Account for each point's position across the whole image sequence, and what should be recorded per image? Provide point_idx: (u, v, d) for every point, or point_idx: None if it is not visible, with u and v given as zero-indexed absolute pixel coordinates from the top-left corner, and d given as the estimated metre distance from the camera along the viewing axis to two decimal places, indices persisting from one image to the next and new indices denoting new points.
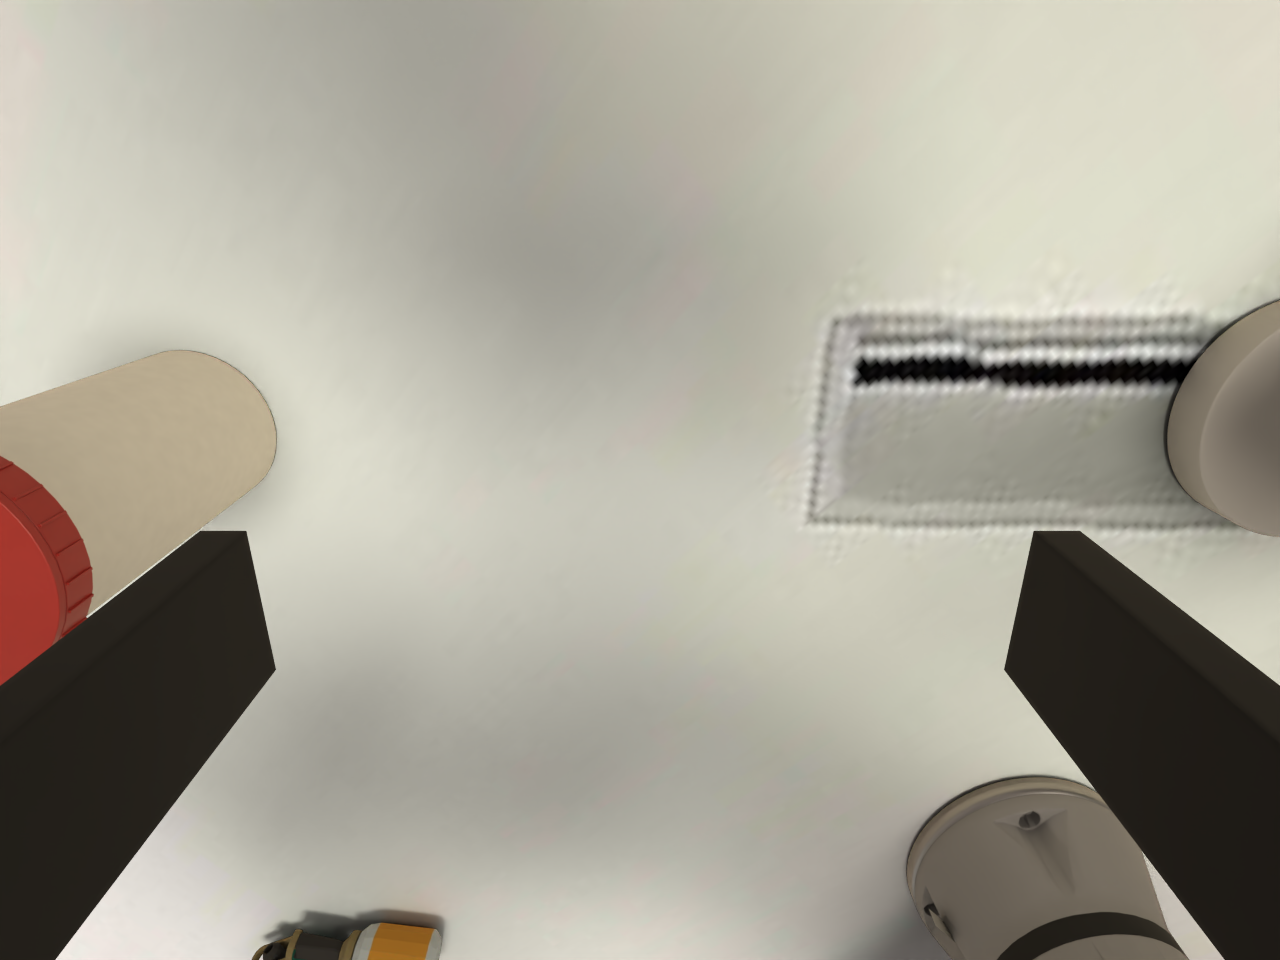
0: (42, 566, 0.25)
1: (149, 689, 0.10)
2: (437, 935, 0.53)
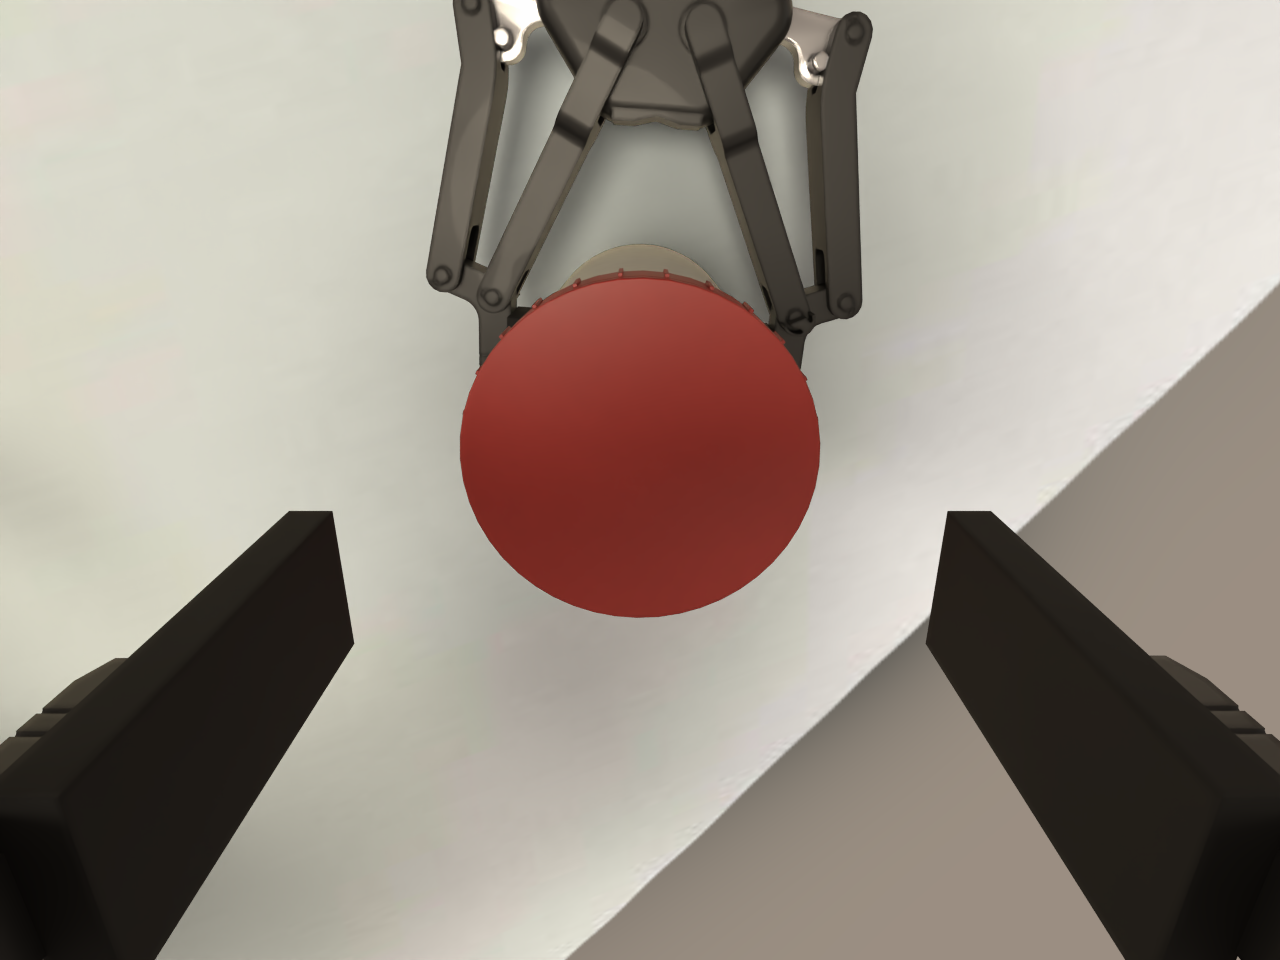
0: (486, 376, 0.18)
1: (261, 653, 0.10)
2: None
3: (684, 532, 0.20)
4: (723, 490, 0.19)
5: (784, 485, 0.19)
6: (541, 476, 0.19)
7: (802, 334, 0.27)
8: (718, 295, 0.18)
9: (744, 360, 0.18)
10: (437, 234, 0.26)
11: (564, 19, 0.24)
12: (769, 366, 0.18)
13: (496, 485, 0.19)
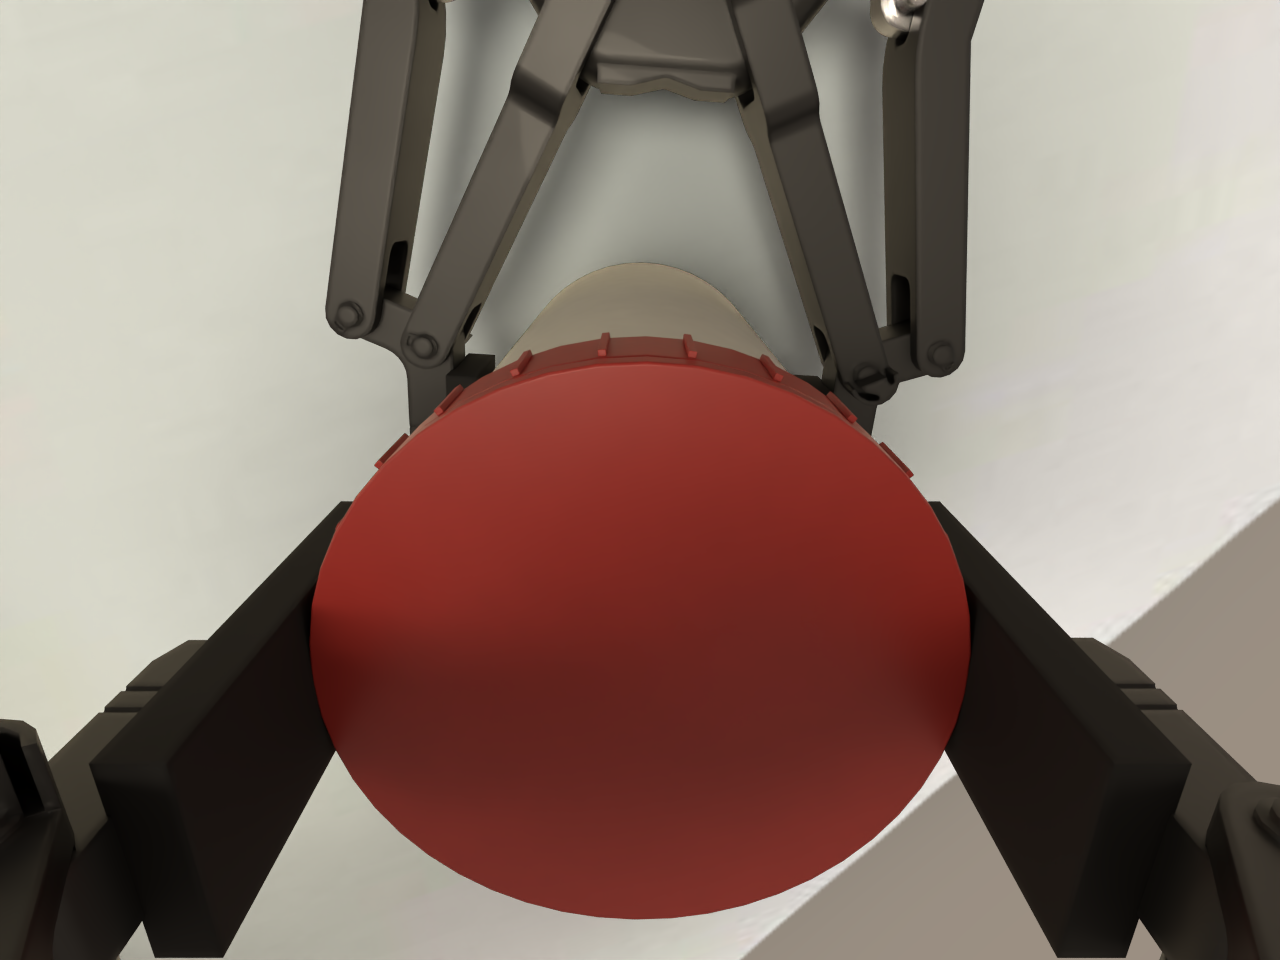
0: (349, 541, 0.10)
1: None
2: None
3: (718, 794, 0.11)
4: (790, 730, 0.11)
5: (901, 722, 0.11)
6: (461, 708, 0.11)
7: (878, 401, 0.18)
8: (794, 395, 0.09)
9: (839, 513, 0.09)
10: (339, 255, 0.18)
11: None
12: (886, 525, 0.10)
13: (381, 722, 0.11)
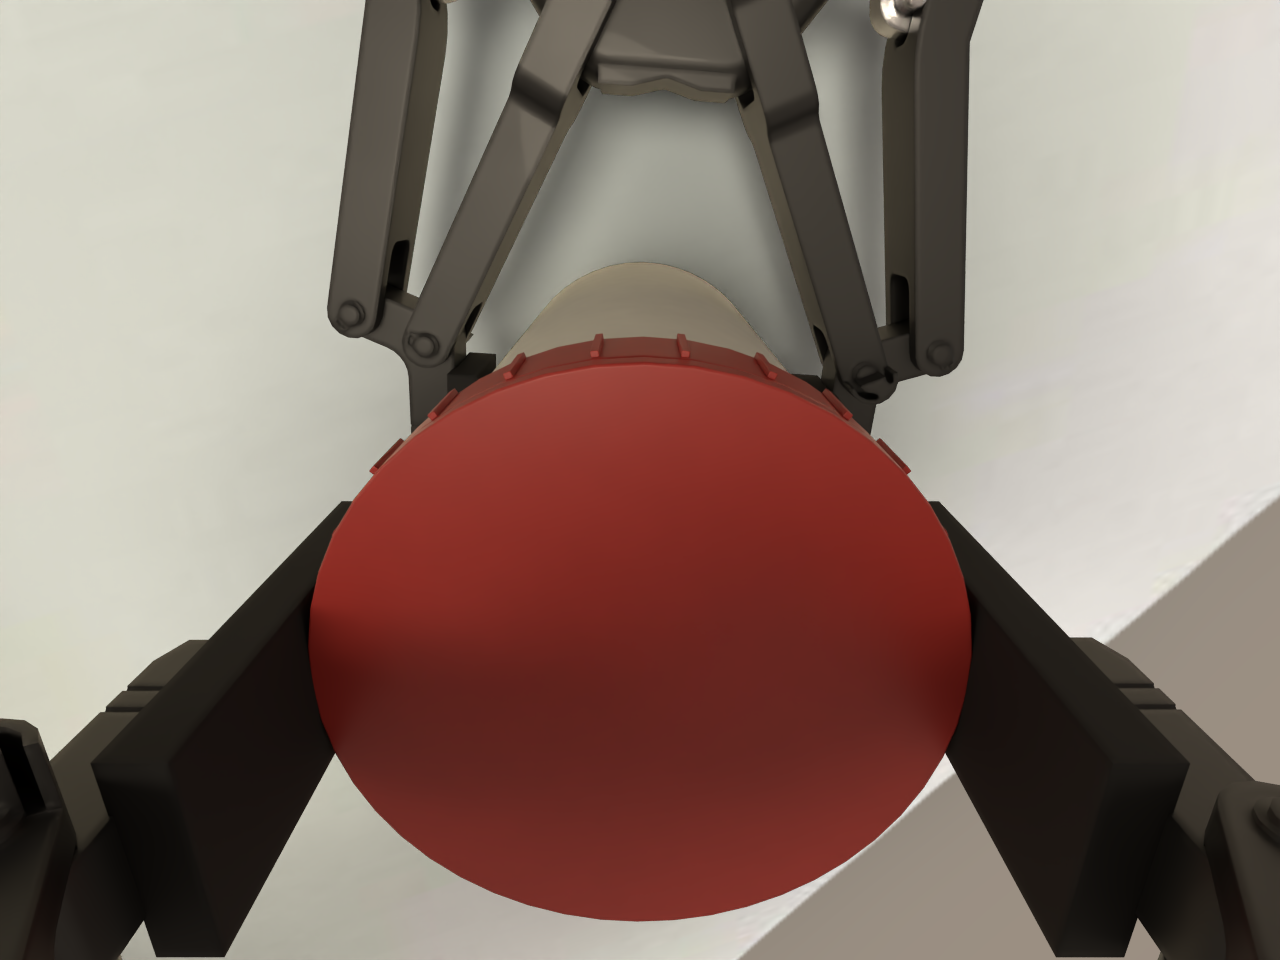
0: (533, 897, 0.12)
1: None
2: None
3: (774, 597, 0.10)
4: (675, 542, 0.10)
5: (647, 428, 0.09)
6: (688, 821, 0.11)
7: (877, 400, 0.18)
8: (311, 609, 0.10)
9: (410, 550, 0.10)
10: (341, 254, 0.18)
11: None
12: (409, 506, 0.09)
13: (711, 877, 0.12)
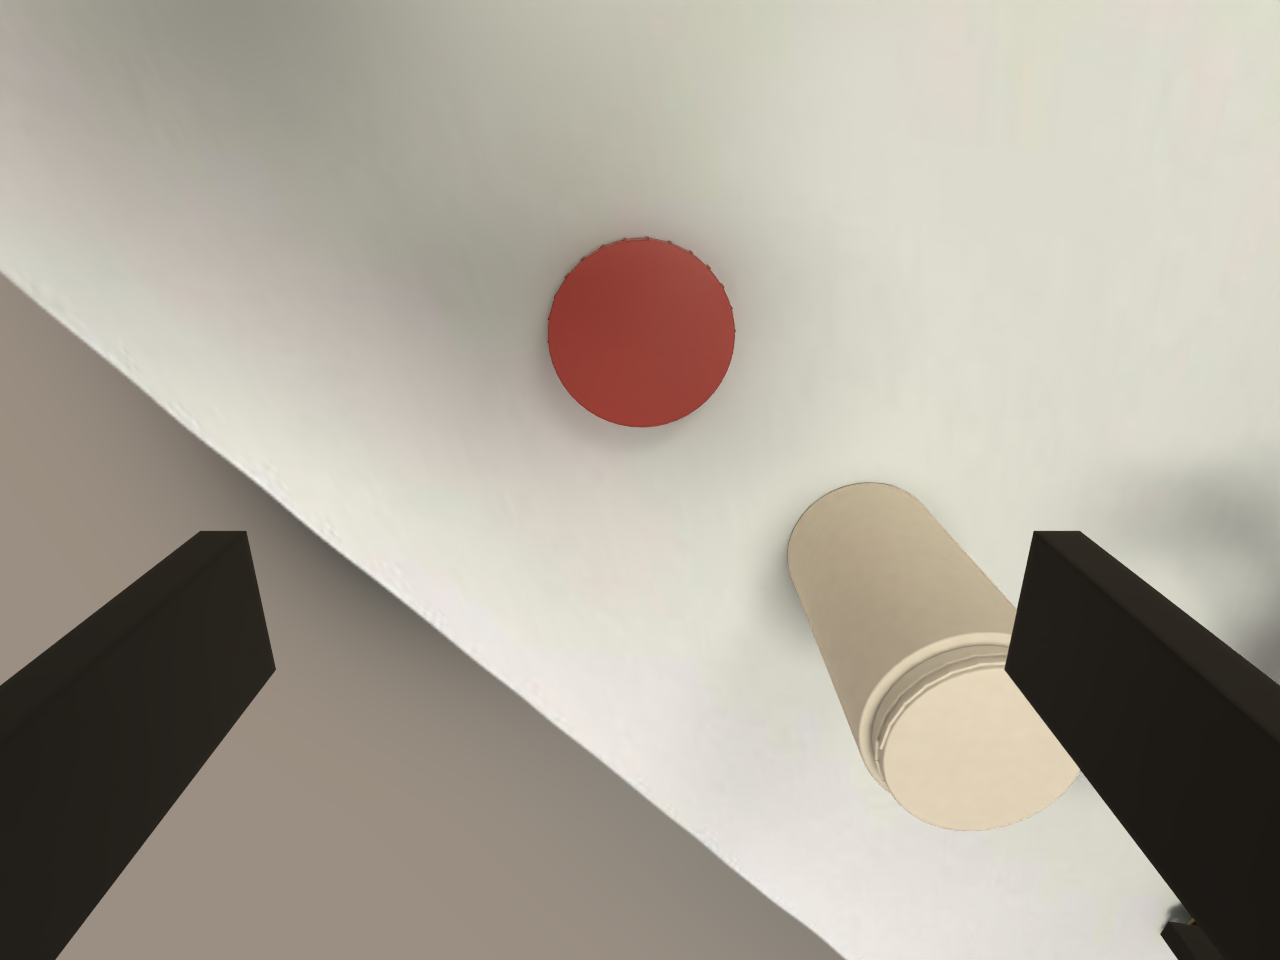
0: (552, 339, 0.37)
1: (149, 689, 0.10)
2: None
3: (682, 358, 0.37)
4: (687, 327, 0.36)
5: (713, 307, 0.36)
6: (602, 371, 0.37)
7: None
8: (627, 241, 0.35)
9: (657, 262, 0.35)
10: None
11: None
12: (669, 258, 0.35)
13: (585, 387, 0.38)
